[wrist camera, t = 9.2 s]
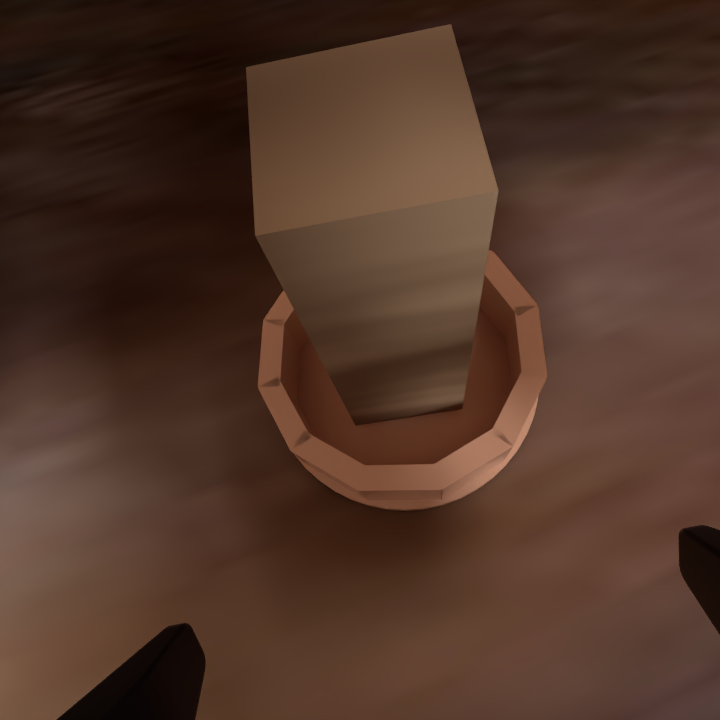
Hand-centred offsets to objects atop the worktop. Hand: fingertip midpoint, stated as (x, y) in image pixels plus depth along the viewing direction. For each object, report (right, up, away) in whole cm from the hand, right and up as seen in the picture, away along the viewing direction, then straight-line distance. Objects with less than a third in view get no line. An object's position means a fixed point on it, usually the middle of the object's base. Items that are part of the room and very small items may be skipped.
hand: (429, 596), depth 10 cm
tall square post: (0, +4, +11) cm, 12 cm away
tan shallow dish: (0, +4, +12) cm, 12 cm away
